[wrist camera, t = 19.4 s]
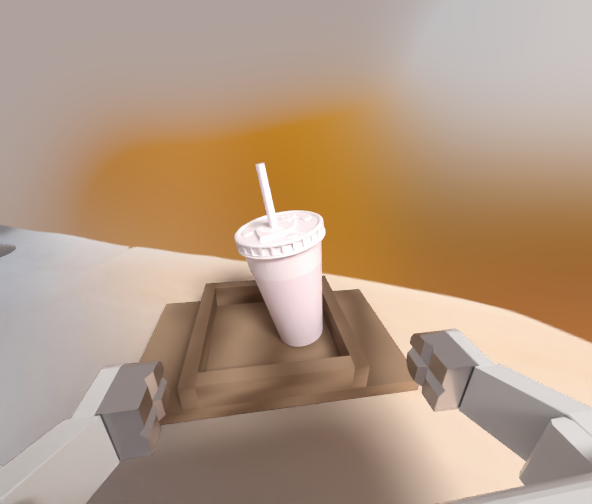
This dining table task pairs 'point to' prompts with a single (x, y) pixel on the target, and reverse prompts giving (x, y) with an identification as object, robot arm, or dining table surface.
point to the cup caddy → (269, 355)
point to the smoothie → (286, 266)
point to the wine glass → (6, 249)
